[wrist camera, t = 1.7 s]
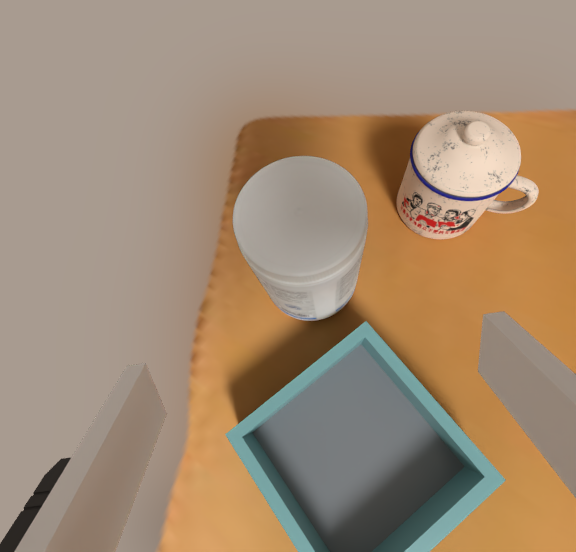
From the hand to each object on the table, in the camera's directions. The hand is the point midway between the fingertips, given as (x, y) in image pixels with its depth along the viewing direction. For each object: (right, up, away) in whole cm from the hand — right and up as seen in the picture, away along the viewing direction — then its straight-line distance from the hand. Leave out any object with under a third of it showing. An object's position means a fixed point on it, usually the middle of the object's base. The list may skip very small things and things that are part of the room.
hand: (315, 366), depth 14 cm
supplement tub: (+1, +3, +24) cm, 24 cm away
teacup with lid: (+17, +11, +25) cm, 32 cm away
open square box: (+5, -12, +18) cm, 22 cm away
